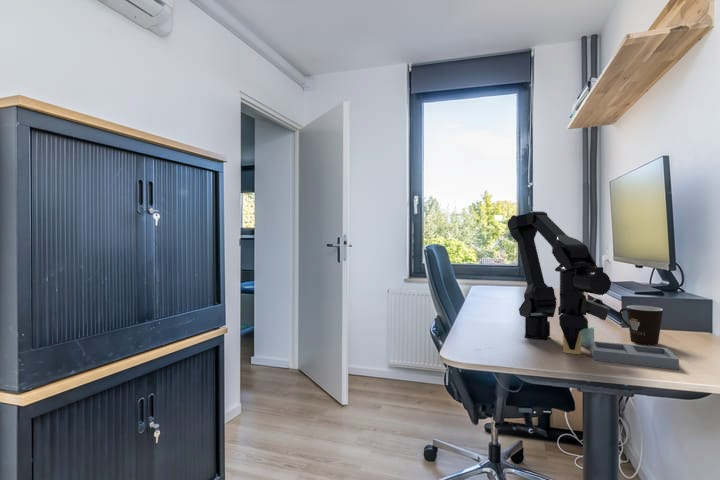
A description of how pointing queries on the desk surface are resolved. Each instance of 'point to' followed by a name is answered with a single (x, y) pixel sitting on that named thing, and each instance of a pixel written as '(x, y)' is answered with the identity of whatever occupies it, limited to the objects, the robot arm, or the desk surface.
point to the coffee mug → (643, 324)
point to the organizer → (634, 354)
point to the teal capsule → (587, 336)
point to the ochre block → (577, 347)
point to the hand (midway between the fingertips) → (571, 347)
